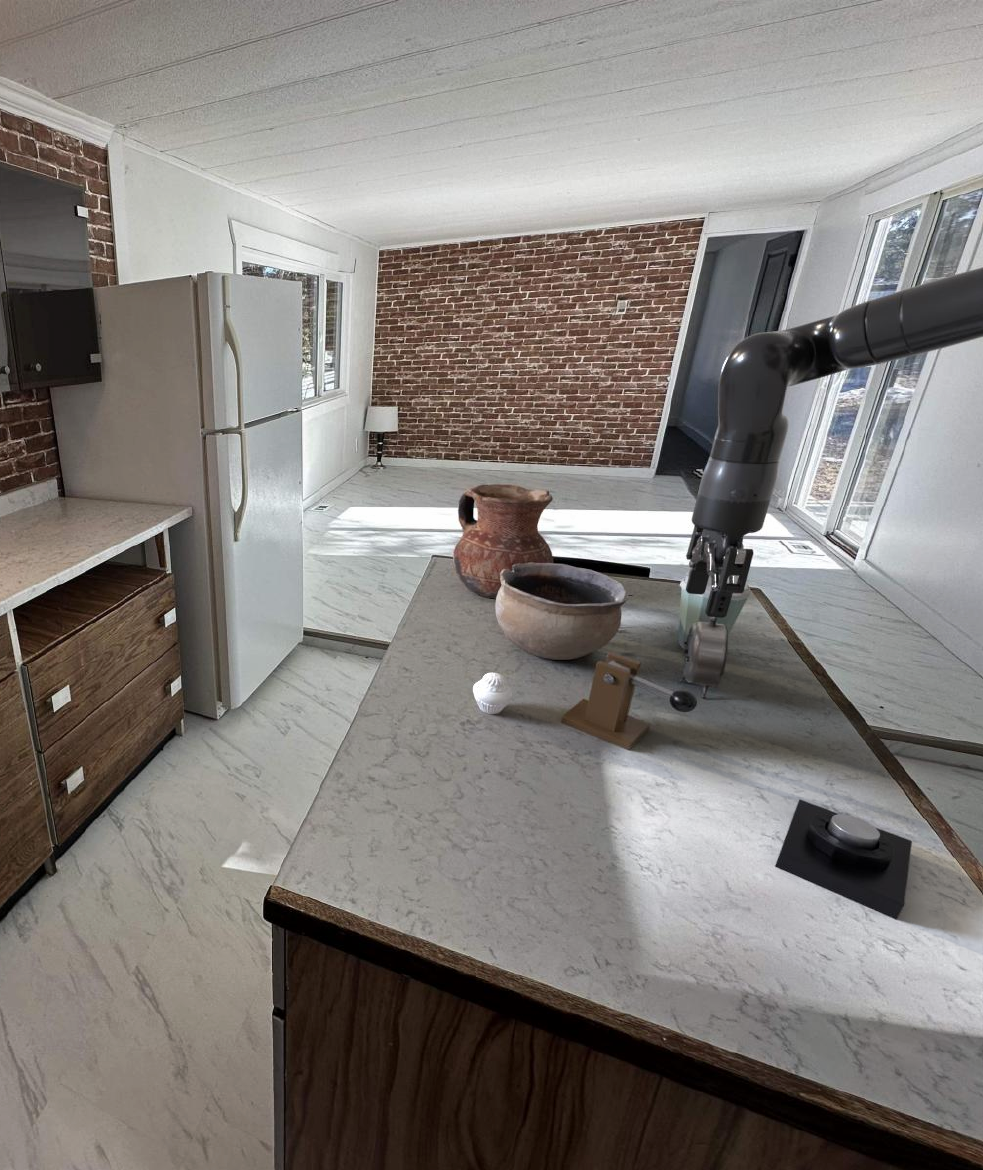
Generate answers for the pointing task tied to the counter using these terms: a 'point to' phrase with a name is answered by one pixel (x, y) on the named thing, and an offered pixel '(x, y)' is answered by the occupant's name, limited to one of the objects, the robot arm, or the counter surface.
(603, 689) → the lever bracket
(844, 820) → the grey push button
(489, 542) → the jug
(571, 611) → the ceramic bowl
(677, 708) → the ball knob lever
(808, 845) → the button base
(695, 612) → the disposable coffee cup
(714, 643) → the alarm clock
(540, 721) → the counter surface
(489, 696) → the muffin
